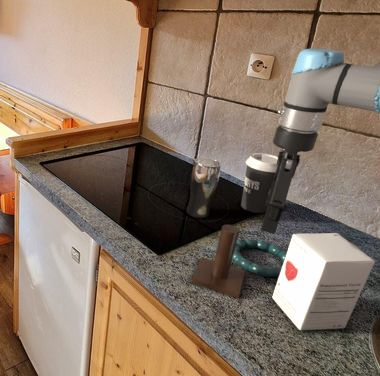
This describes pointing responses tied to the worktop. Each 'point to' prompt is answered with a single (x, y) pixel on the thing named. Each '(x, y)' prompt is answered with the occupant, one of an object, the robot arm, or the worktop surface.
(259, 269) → the ring
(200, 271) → the post
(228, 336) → the worktop surface
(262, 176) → the coffee cup
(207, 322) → the worktop surface
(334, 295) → the rectangular carton
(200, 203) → the beer glass
